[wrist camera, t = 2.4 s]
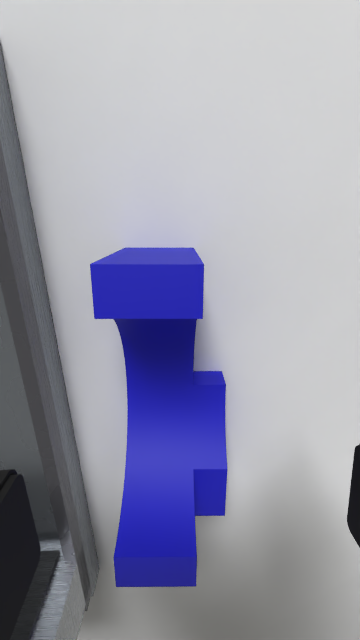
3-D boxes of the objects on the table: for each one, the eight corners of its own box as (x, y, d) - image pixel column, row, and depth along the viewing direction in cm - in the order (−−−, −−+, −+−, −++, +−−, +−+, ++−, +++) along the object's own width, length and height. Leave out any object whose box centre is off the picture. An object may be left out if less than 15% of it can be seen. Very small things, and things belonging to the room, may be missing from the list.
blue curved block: (217, 467, 18) (236, 586, 12) (136, 468, 18) (116, 586, 12) (226, 247, 14) (260, 264, 8) (125, 247, 14) (90, 263, 8)
